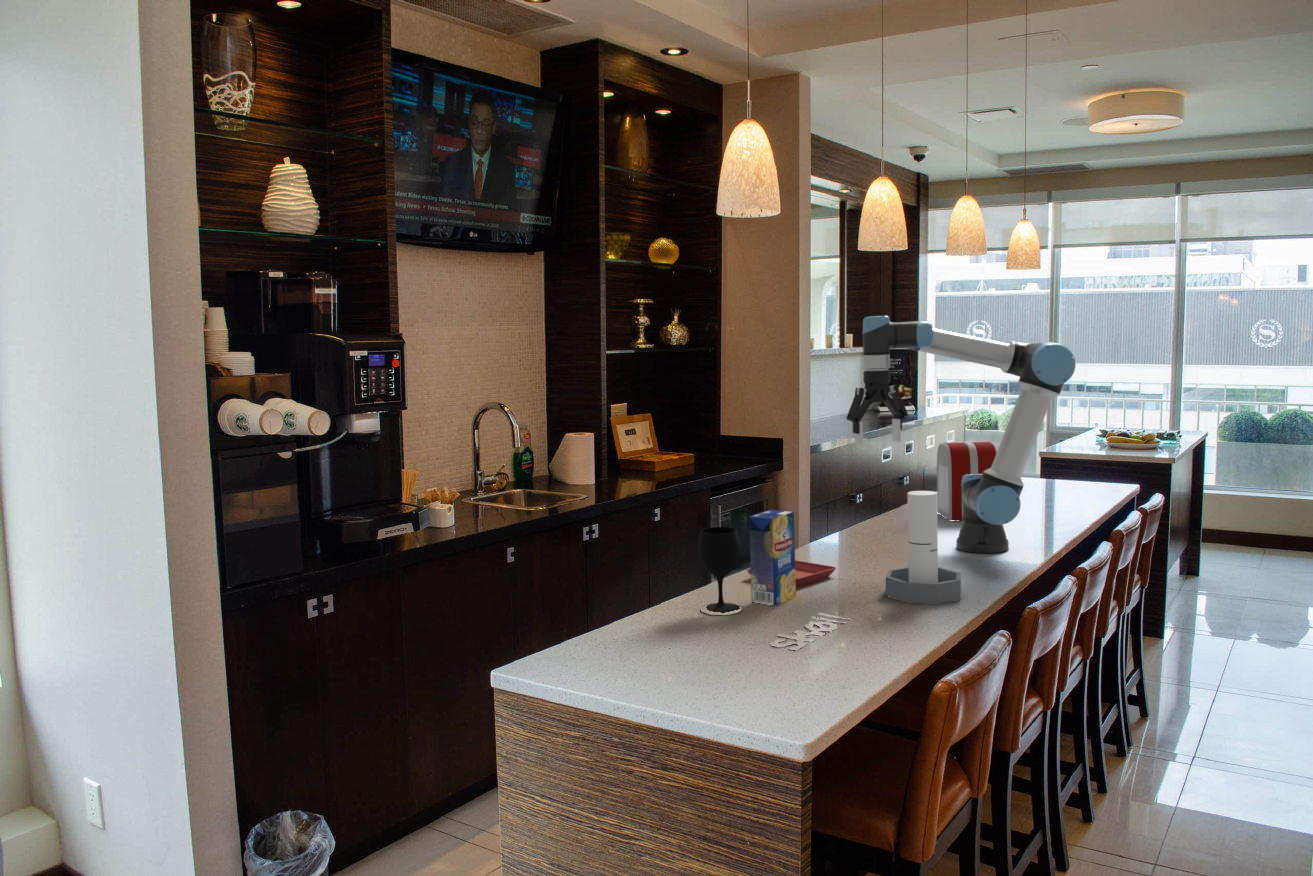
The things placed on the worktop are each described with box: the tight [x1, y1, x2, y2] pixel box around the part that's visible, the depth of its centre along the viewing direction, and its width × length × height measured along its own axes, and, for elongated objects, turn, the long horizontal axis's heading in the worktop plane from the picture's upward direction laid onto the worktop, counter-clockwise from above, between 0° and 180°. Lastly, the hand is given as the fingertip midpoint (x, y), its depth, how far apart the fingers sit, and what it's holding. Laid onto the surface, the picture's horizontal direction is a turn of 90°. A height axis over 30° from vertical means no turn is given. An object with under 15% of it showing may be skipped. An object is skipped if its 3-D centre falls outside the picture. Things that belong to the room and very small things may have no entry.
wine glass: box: [697, 526, 741, 613], centre depth 238 cm, size 10×10×20 cm
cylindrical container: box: [907, 490, 939, 583], centre depth 245 cm, size 7×7×25 cm
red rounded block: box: [936, 440, 998, 521], centre depth 346 cm, size 16×18×27 cm
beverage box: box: [748, 509, 797, 606], centre depth 245 cm, size 7×11×22 cm, turn 144°
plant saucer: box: [746, 559, 837, 588], centre depth 268 cm, size 18×18×3 cm
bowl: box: [885, 566, 962, 605], centre depth 246 cm, size 18×18×5 cm
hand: (877, 443), depth 281 cm, fingers open, 13 cm apart
